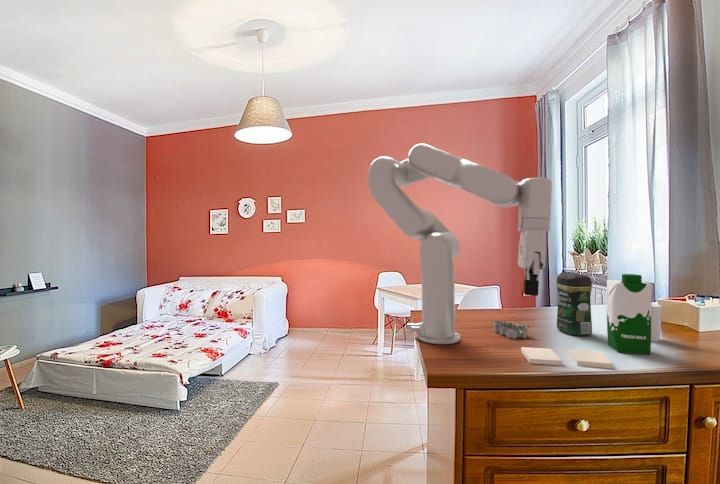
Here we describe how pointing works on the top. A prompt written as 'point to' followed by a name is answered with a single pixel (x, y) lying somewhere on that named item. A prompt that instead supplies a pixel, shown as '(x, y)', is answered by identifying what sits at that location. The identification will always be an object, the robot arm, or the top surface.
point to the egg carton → (510, 329)
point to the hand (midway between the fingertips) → (530, 294)
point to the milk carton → (629, 314)
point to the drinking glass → (655, 322)
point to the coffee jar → (574, 304)
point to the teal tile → (541, 356)
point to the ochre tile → (590, 358)
